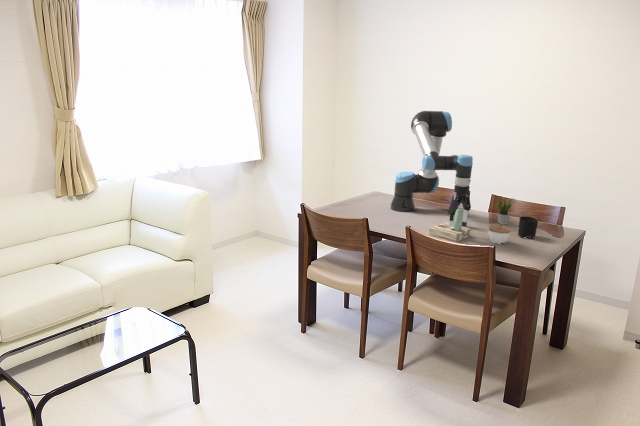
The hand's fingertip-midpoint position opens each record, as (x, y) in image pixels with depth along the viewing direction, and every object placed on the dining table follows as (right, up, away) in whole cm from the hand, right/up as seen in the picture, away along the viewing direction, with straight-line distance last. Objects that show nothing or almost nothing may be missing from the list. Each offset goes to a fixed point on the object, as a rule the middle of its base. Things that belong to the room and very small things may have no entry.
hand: (457, 224), depth 271 cm
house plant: (+36, -1, +30) cm, 47 cm away
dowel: (0, -6, +2) cm, 6 cm away
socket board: (-3, -6, +5) cm, 8 cm away
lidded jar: (+20, -10, -4) cm, 22 cm away
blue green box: (+6, -2, +23) cm, 24 cm away
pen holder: (+39, -7, +7) cm, 41 cm away
